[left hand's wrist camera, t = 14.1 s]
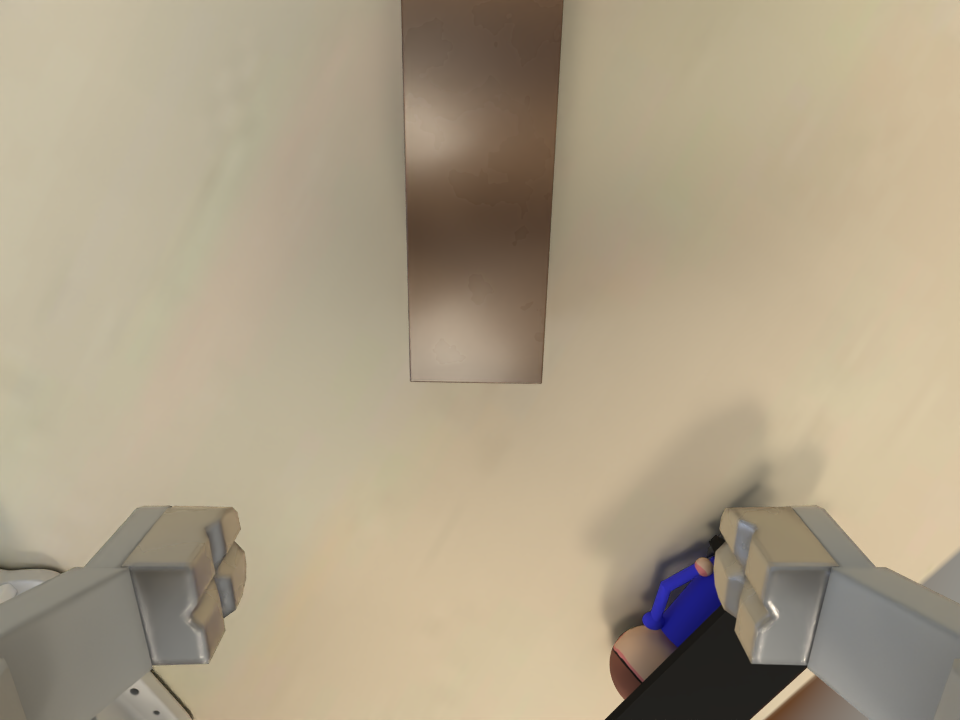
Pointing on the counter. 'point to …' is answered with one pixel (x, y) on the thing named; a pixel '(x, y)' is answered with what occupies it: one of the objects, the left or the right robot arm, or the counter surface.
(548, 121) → the bar
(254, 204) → the counter surface
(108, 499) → the counter surface
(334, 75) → the counter surface
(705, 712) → the figurine character
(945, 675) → the left robot arm
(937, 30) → the counter surface
